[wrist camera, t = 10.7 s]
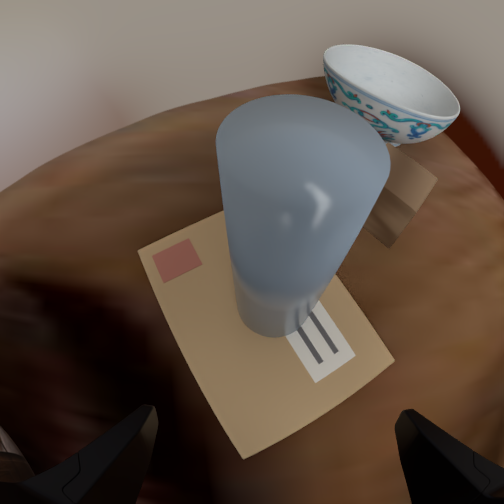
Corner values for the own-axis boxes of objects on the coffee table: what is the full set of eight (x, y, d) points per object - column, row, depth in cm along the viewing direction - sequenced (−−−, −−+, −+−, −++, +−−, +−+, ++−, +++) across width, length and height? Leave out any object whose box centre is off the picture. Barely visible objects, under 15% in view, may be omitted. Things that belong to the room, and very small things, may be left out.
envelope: (392, 361, 17) (395, 360, 17) (243, 458, 14) (243, 459, 14) (271, 192, 24) (271, 189, 23) (138, 252, 21) (137, 250, 20)
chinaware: (382, 195, 24) (415, 129, 17) (286, 107, 30) (292, 48, 23) (452, 155, 28) (478, 109, 21) (370, 89, 34) (382, 44, 27)
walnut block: (412, 215, 23) (438, 178, 19) (388, 249, 21) (416, 212, 17) (370, 182, 25) (388, 142, 20) (341, 210, 23) (358, 168, 19)
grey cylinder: (322, 289, 19) (402, 133, 8) (288, 351, 17) (361, 245, 6) (260, 256, 20) (270, 81, 9) (222, 313, 18) (178, 159, 7)
